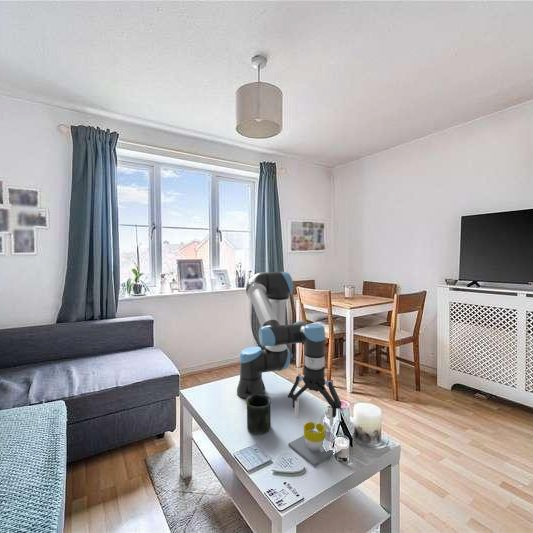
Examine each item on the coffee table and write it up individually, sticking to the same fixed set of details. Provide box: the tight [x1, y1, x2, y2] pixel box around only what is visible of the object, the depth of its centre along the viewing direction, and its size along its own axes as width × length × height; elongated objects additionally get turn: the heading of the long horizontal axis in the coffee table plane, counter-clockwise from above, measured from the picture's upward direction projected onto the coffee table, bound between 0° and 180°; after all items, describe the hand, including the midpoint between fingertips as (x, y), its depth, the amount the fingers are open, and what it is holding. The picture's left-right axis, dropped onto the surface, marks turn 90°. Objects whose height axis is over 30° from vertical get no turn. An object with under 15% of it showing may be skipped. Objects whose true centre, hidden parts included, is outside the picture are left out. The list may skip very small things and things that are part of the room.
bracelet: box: [303, 421, 326, 442], centre depth 112 cm, size 7×8×3 cm
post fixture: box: [287, 429, 334, 468], centre depth 113 cm, size 14×14×5 cm
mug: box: [245, 394, 272, 435], centre depth 128 cm, size 11×15×12 cm
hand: (313, 420), depth 113 cm, fingers open, 13 cm apart
